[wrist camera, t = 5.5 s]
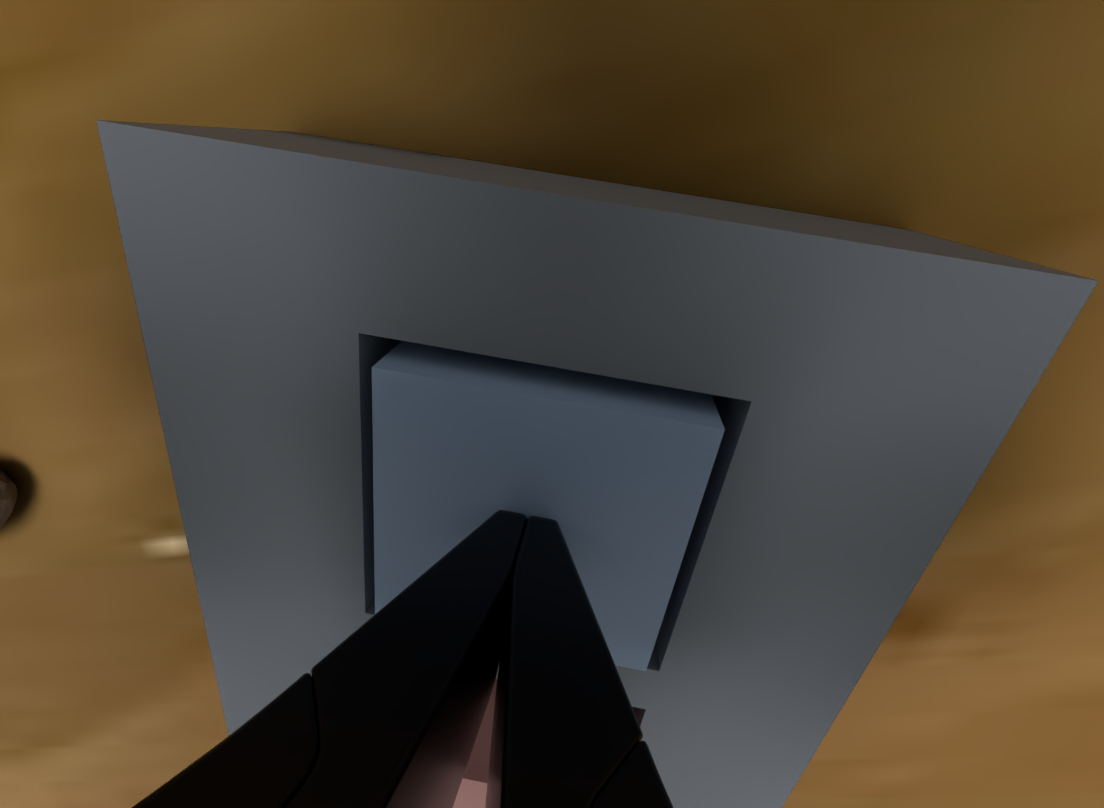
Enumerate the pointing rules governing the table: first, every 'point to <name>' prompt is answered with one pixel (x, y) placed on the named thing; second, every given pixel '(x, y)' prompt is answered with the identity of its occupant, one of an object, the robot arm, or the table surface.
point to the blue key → (541, 474)
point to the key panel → (586, 346)
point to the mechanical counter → (6, 498)
